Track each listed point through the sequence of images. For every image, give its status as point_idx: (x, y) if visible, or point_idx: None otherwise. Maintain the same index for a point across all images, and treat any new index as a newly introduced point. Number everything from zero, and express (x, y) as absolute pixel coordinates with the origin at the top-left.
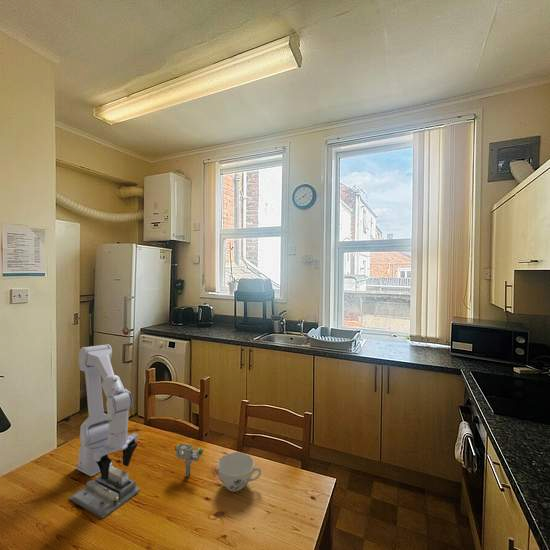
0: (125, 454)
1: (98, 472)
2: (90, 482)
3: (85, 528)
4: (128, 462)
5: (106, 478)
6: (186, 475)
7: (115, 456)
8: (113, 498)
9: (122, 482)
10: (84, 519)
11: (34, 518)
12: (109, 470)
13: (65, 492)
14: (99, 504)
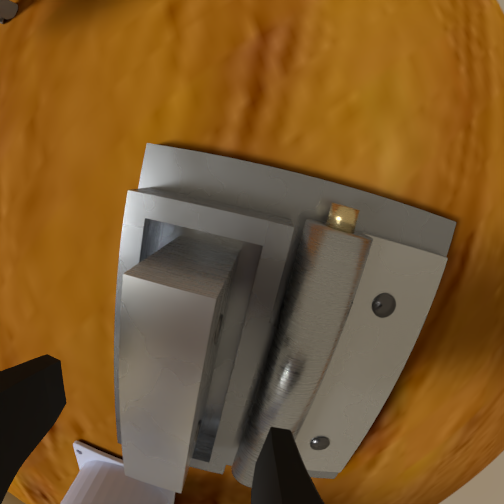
0: (5, 449)
1: None
2: None
3: (500, 261)
4: (31, 370)
5: (286, 434)
6: (13, 8)
7: (44, 444)
8: (367, 238)
9: (218, 275)
10: (455, 316)
11: (433, 473)
12: (174, 463)
13: None
14: (396, 312)
